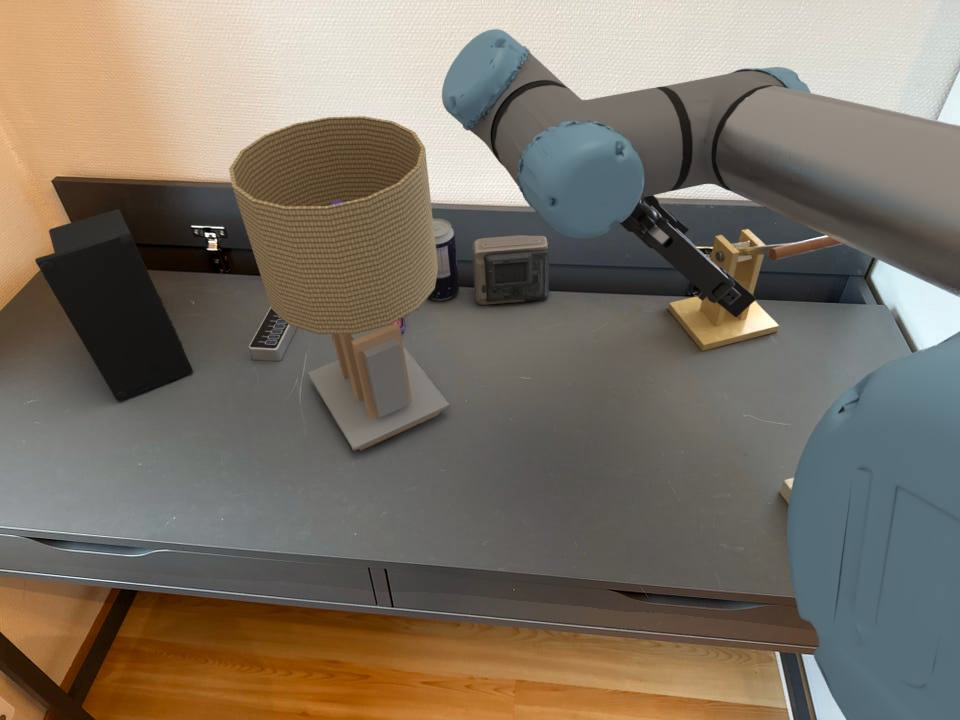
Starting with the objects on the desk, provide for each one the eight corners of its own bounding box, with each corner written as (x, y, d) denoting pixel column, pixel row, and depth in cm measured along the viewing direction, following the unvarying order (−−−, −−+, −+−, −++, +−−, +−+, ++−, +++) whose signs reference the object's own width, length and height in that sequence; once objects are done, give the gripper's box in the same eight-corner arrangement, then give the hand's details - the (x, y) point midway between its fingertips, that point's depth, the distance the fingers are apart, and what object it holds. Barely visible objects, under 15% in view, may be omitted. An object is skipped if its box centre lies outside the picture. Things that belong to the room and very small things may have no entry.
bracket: (777, 331, 101) (802, 251, 91) (702, 351, 98) (720, 271, 89) (738, 291, 108) (758, 213, 98) (667, 309, 106) (681, 230, 96)
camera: (546, 283, 112) (547, 229, 105) (550, 306, 107) (551, 251, 101) (474, 287, 112) (471, 234, 105) (475, 310, 107) (471, 256, 101)
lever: (845, 248, 82) (843, 227, 81) (777, 264, 80) (774, 243, 80) (762, 254, 97) (759, 237, 97) (704, 268, 96) (701, 250, 95)
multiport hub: (251, 359, 102) (247, 348, 100) (284, 297, 112) (281, 286, 111) (280, 361, 101) (276, 349, 100) (311, 299, 112) (308, 287, 110)
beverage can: (466, 294, 111) (461, 229, 102) (435, 308, 108) (428, 242, 100) (447, 277, 114) (440, 212, 106) (417, 290, 112) (408, 225, 104)
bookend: (89, 315, 111) (14, 181, 95) (158, 291, 115) (98, 158, 99) (117, 405, 96) (34, 264, 80) (195, 374, 100) (132, 233, 84)
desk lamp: (478, 416, 92) (460, 169, 68) (339, 481, 85) (264, 233, 61) (411, 334, 104) (376, 101, 80) (285, 385, 97) (205, 148, 73)
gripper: (516, 142, 74) (633, 235, 87) (619, 275, 56) (746, 367, 69) (565, 83, 71) (678, 188, 84) (690, 203, 53) (808, 313, 66)
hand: (709, 269), depth 76 cm, fingers open, 13 cm apart
